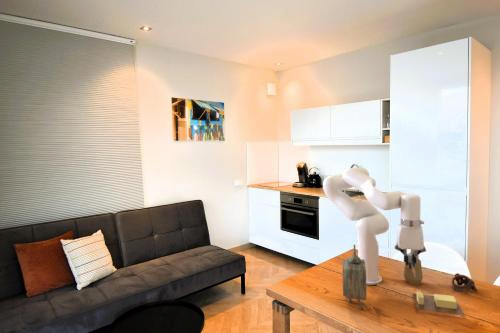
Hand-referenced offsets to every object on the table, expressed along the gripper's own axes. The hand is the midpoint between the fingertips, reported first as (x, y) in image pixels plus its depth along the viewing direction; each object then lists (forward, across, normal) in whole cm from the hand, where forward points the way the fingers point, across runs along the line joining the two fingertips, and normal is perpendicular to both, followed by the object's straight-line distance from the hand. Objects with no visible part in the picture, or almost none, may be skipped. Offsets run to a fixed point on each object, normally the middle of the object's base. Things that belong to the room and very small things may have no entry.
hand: (409, 263), depth 134 cm
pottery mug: (+15, -24, -13) cm, 31 cm away
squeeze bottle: (+15, -4, -14) cm, 21 cm away
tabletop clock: (+15, +23, +11) cm, 30 cm away
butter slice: (+14, -3, +6) cm, 15 cm away
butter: (+14, -12, +6) cm, 19 cm away
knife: (0, 0, +4) cm, 4 cm away
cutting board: (+15, -9, +6) cm, 18 cm away
